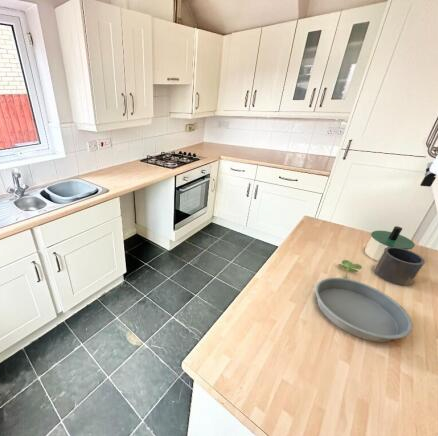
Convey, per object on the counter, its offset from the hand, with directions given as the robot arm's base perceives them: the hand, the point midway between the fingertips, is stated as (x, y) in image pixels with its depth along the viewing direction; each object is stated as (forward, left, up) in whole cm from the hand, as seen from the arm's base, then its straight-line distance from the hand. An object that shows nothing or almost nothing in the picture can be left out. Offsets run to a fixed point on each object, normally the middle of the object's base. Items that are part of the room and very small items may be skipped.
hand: (434, 190), depth 92 cm
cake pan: (+30, +42, -31) cm, 60 cm away
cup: (+9, +17, -30) cm, 36 cm away
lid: (+6, +3, -22) cm, 23 cm away
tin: (+6, +3, -30) cm, 31 cm away
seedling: (+26, +20, -31) cm, 45 cm away
